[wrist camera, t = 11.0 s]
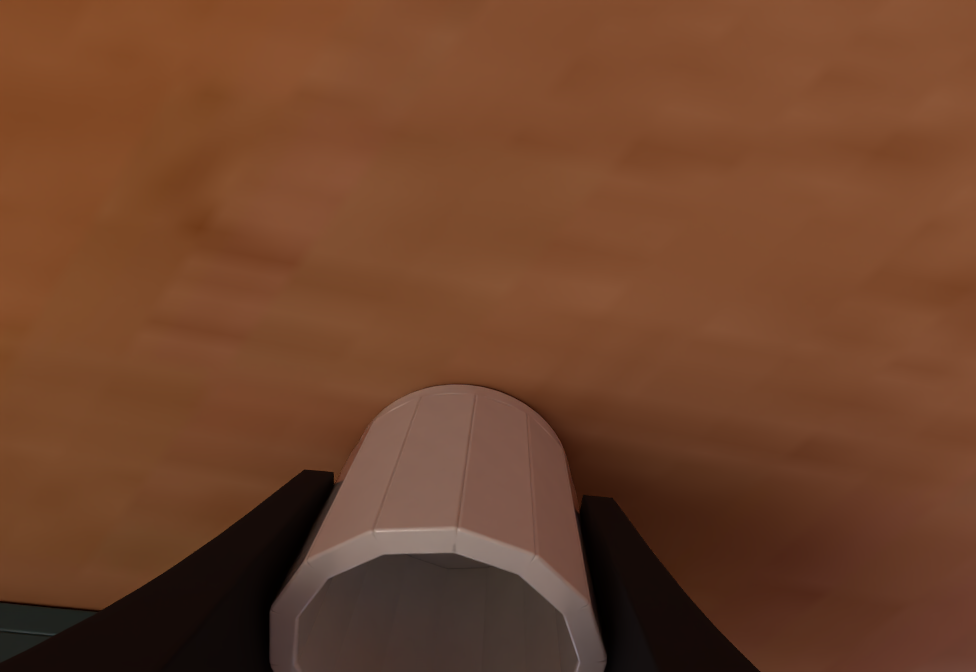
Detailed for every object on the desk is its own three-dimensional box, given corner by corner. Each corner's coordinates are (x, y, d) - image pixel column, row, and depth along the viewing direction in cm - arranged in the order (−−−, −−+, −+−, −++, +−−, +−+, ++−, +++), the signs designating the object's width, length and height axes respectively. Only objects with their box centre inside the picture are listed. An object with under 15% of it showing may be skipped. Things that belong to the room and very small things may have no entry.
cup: (616, 459, 12) (679, 639, 7) (488, 597, 13) (477, 810, 9) (428, 337, 11) (375, 462, 6) (315, 501, 12) (212, 686, 8)
